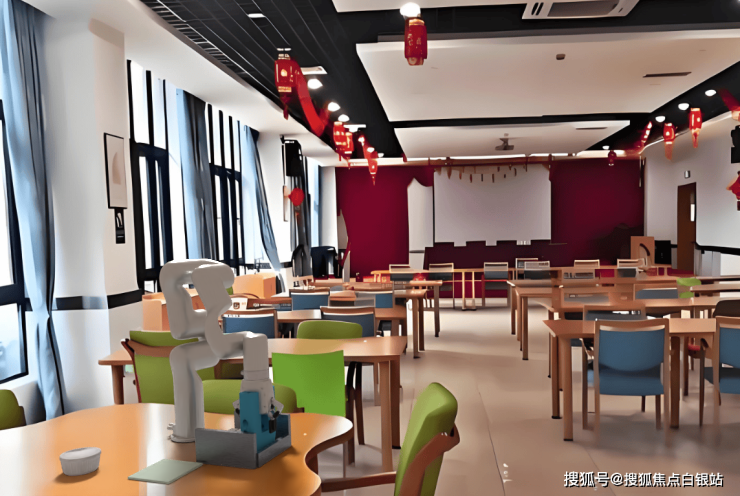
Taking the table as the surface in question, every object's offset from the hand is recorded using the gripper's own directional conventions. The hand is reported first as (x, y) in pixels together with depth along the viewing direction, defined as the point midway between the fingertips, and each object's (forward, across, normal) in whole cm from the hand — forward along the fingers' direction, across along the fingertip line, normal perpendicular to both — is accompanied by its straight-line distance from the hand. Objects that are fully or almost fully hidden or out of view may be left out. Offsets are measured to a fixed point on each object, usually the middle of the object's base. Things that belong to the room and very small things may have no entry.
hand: (258, 431), depth 188 cm
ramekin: (+8, -45, -25) cm, 52 cm away
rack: (+7, -5, 0) cm, 9 cm away
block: (+8, 0, 0) cm, 8 cm away
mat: (+7, -19, -20) cm, 28 cm away
